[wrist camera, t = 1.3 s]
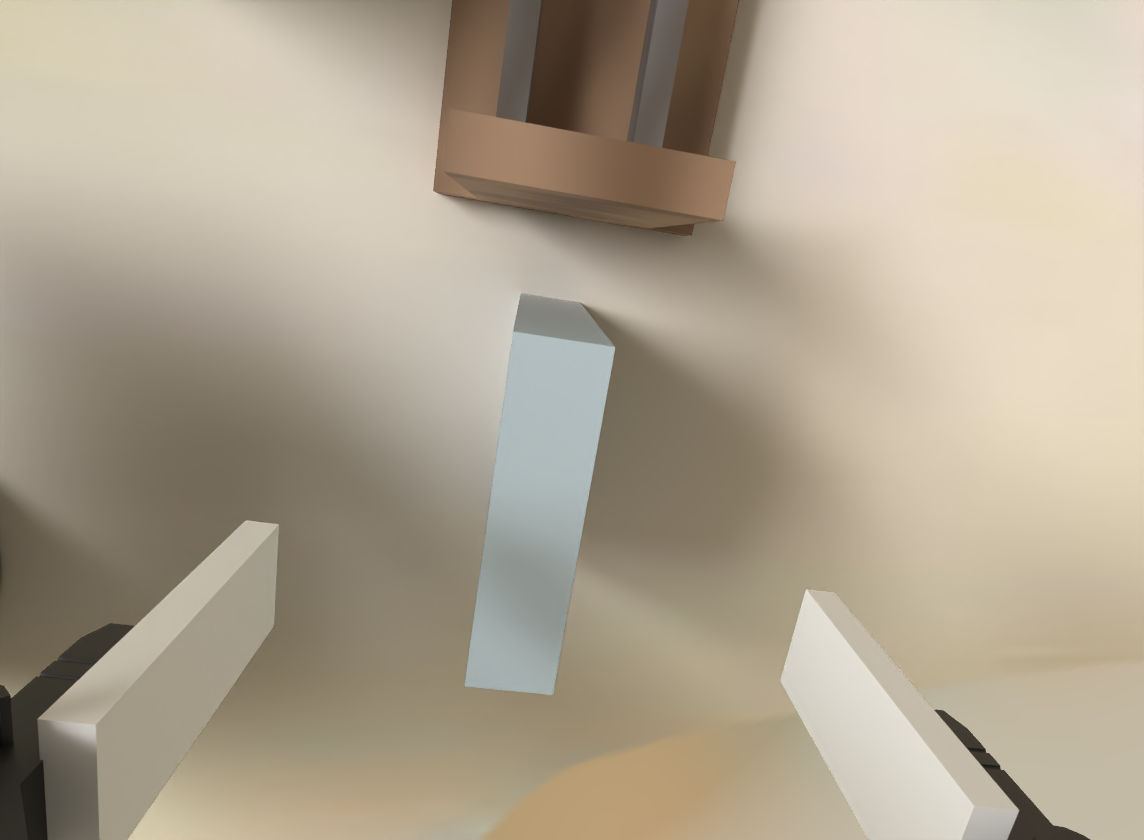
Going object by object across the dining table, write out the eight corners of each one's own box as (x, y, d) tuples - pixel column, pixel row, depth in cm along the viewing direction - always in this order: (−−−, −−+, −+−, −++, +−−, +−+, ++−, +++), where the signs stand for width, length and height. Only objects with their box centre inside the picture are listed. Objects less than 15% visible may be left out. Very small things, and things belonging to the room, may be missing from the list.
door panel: (490, 515, 35) (464, 686, 22) (520, 293, 32) (513, 331, 19) (544, 522, 35) (553, 695, 22) (580, 302, 32) (615, 347, 19)
